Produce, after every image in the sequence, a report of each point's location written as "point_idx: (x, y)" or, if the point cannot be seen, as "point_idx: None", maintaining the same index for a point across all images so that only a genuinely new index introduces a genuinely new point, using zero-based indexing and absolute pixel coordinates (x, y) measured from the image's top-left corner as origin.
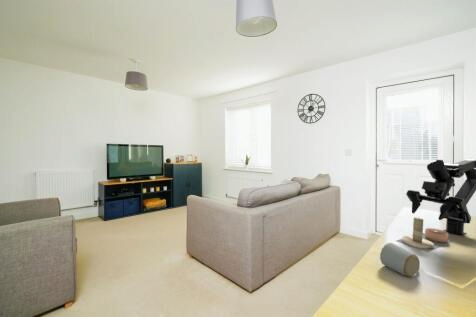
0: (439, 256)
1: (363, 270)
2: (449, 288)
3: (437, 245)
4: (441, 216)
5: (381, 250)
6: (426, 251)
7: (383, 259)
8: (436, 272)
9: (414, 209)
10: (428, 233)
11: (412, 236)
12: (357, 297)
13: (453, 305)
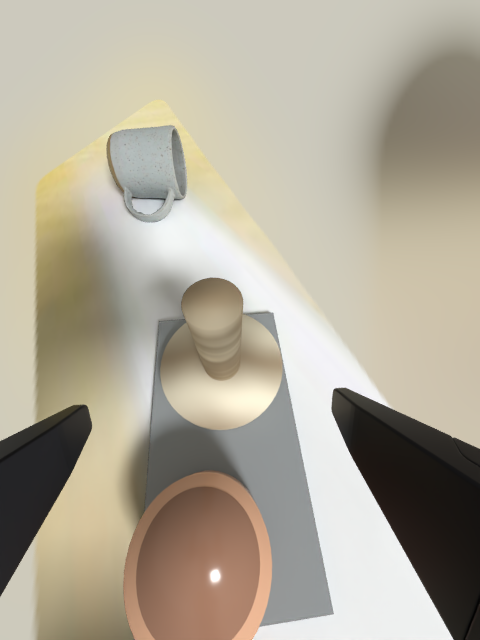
0: (128, 340)
1: (194, 155)
2: (70, 209)
3: (165, 436)
4: (42, 422)
5: (178, 135)
6: (164, 322)
7: (175, 155)
8: (104, 241)
9: (357, 421)
10: (221, 474)
11: (267, 400)
12: (154, 120)
13: (58, 177)
